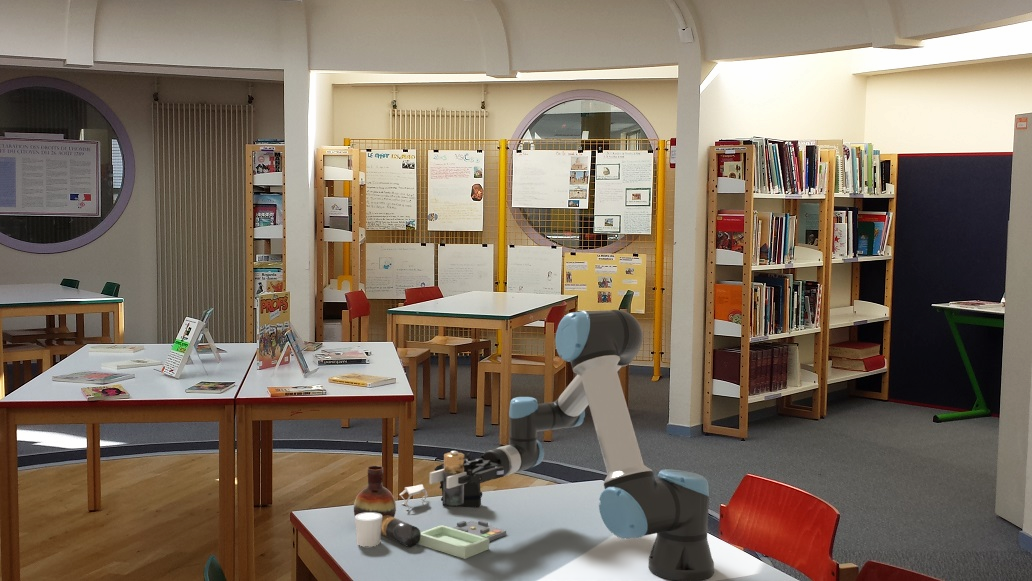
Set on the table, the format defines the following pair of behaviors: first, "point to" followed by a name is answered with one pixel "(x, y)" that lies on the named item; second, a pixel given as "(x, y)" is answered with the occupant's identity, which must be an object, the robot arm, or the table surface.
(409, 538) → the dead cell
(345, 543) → the table surface
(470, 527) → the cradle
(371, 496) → the vase
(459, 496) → the cell
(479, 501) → the magazine
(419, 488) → the white legged piece
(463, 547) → the trough
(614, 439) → the robot arm
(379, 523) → the white cup
